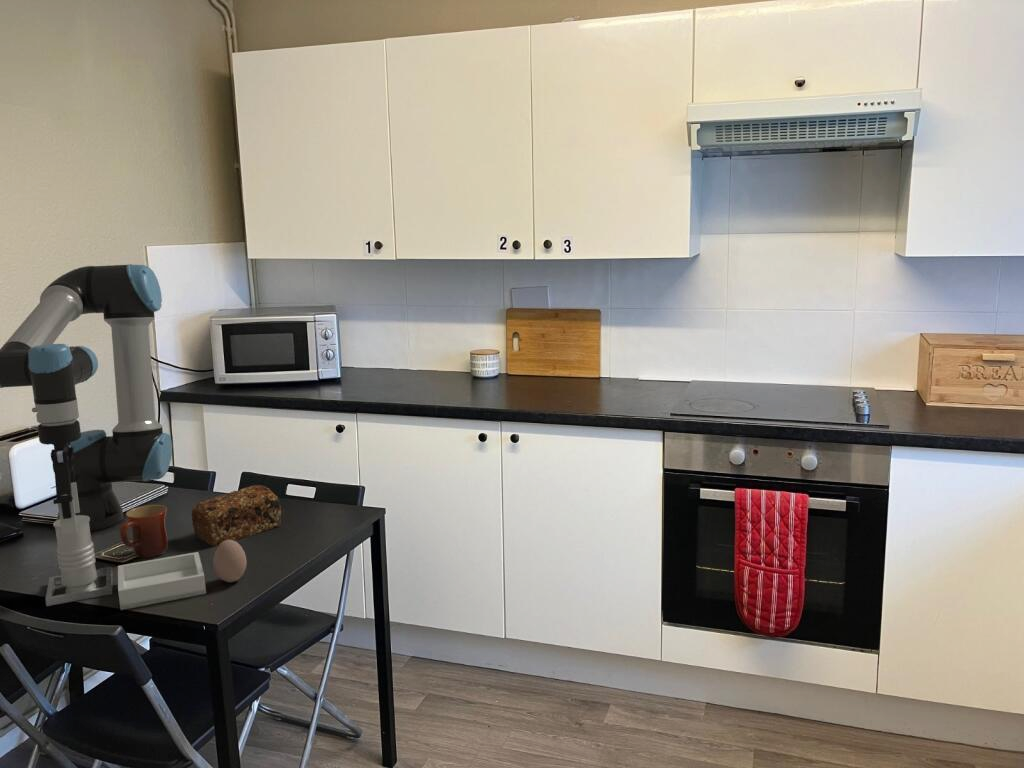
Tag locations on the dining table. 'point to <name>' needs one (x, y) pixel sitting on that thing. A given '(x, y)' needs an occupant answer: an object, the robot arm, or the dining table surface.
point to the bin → (160, 580)
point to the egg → (229, 561)
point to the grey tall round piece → (76, 556)
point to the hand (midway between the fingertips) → (71, 522)
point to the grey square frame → (81, 594)
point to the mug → (146, 530)
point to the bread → (236, 515)
